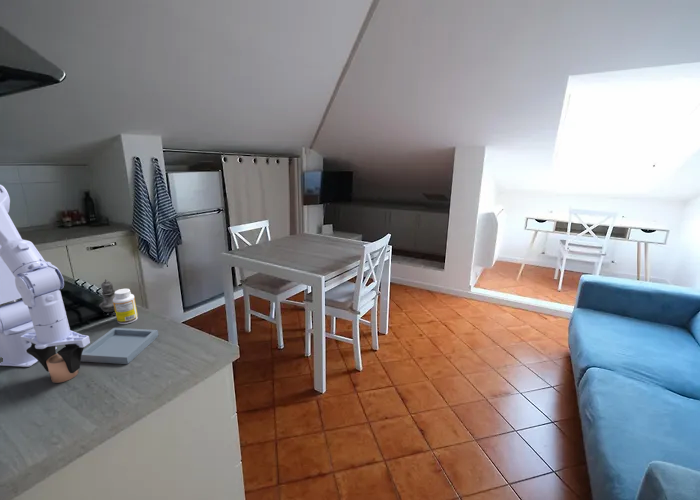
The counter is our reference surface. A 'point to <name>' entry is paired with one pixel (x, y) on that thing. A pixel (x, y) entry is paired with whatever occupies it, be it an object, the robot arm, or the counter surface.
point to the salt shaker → (107, 297)
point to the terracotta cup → (59, 369)
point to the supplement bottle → (125, 306)
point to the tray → (119, 345)
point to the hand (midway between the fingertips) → (63, 369)
